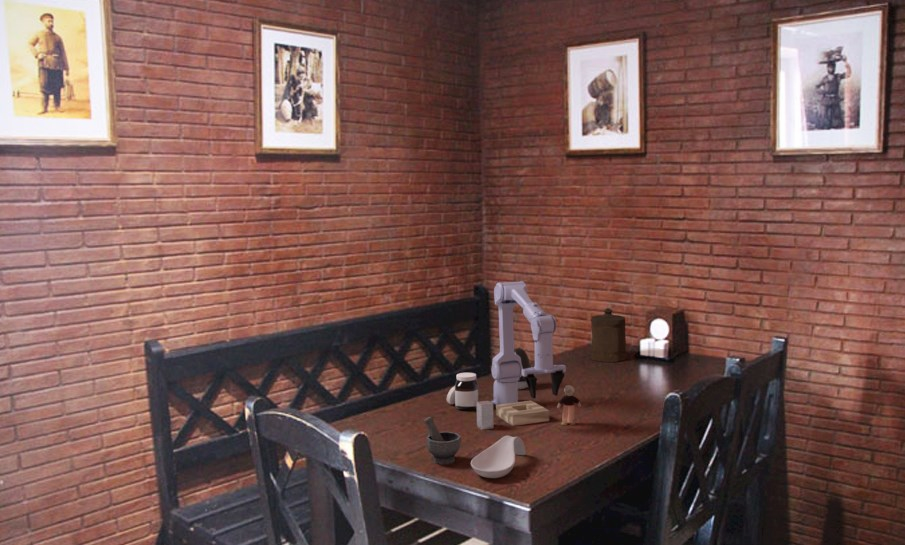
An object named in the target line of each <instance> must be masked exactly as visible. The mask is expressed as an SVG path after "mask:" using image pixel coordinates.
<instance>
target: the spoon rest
mask: <svg viewBox="0 0 905 545" xmlns="http://www.w3.org/2000/svg"><path fill="white" fill-rule="evenodd" d="M517 455H518V456H526V455H527V451H526V447H525V443H524V441H523V440H522V438H521V437H520V436H511V435H504V436H502V437H501V438H500V439H498V440H497V441H496V442H494V443H493V444H492V445H490V446H489V447H487V448H486V449H484V450H483V451H481V452H480V453H479V454H478V455H475V456H474V457H473V458H472V459H471V461H470V466H471V468H472V470H473V471H474V472H475V473H476V474H478V475H479V476H480V477H483V478H487V479H498V478H499V479H500V478H503V477H505V476H507V475H508V474H509V473H510V472H511V471H512V470H513V468H514V466H515V463H516V456H517Z"/></svg>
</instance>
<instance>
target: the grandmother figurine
mask: <svg viewBox="0 0 905 545" xmlns="http://www.w3.org/2000/svg"><path fill="white" fill-rule="evenodd" d="M563 392H564V393H565V395H564V396H562V397H561V399H560V400H559V401H558V403H557V406H556V408H557V409H560V408H561V407H562V405H563V407H562V416H561V417H562V418H561V419H562V421H561V424H560V425H561V426H567V425H571V426H574V425H576V422H575V404H576V405H577V407H579V408H581V407H582V404H581V401H580V399H579V398H578V397H576V396H574V393H575V388H574V386H572V385H570V384H567V385H565V386H564V388H563Z"/></svg>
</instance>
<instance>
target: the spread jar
mask: <svg viewBox="0 0 905 545" xmlns="http://www.w3.org/2000/svg"><path fill="white" fill-rule="evenodd" d="M446 402H447V403H448V404H450V405H455V408H456V409H458V410H460V411H473V410H477V402H479V383H478V381H477V374H476V373H474V372H460V373H457V374H456V381H455V385H454V386H452V387H451V388H450V389H449V391H448V393H447V395H446Z"/></svg>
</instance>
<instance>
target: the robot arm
mask: <svg viewBox="0 0 905 545" xmlns="http://www.w3.org/2000/svg"><path fill="white" fill-rule="evenodd" d="M493 296H494V298H493V299H494V305H495V306H497V307H498V326H499V327H498V330H499V331H498V334H499V352H498V353H497V354H496V355H494V356H493V357H492V364H491V370H490V372H491V376H492V378H493V380H494V382H493V384H492V386H493V387H492V388H493V400H491V401H490V402H491V403H493V405H494V406H496V405H501V404H508V403H516V402H519V389H518V380H519V378H520V377H521V376H523V377H524V379H525V381H526V383H527V385H528V387H527V388H528V390H529V396H530V398H532V399H536V397H537V391H536V390H537V382H538V378H537V377H536V375H543V374H550V379H551V393H552V395H553V396H558V394H559V389H560V387H561V384H562V382H563V379H564V377H565V373H566V372H567V370H566V369H567V366H566V365H564V364H554V349H553V348H554V342H553V341H554V339H553V336H554V333H555V332H556V330H557V322H556V318H555V316H554V315H553V314H547V313H546V312H545V311H544V310H543V308H541V306H540V305H539V303H538V302H536V301H535V302H533V301H532V300H531V297H530V296H529V295H528V287H527V285H526V283H525V281H523V280H521V281H511V282H509V281H506V282H497V283H496V285H495V286H494V289H493ZM516 305H519V306H520V307H521V308H522V309H523V310H522V312H523V316H524V317H525V319H526V320H527V321H528V323H530V330H531V333H532V340H534V343H533V344H534V347H533V348H534V366H531V368H527V369H523V367H522V363H521V358H520V356H518V355H517V354H516V353H514V349H515V333H514V307H515V306H516Z"/></svg>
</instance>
